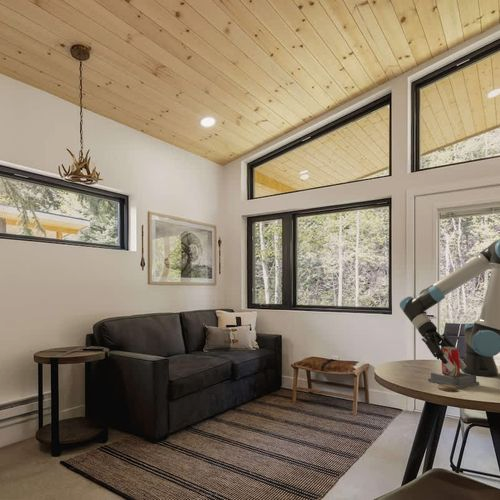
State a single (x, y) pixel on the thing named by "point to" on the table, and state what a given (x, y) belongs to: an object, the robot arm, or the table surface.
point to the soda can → (454, 358)
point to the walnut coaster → (447, 387)
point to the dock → (455, 380)
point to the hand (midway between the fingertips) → (458, 368)
